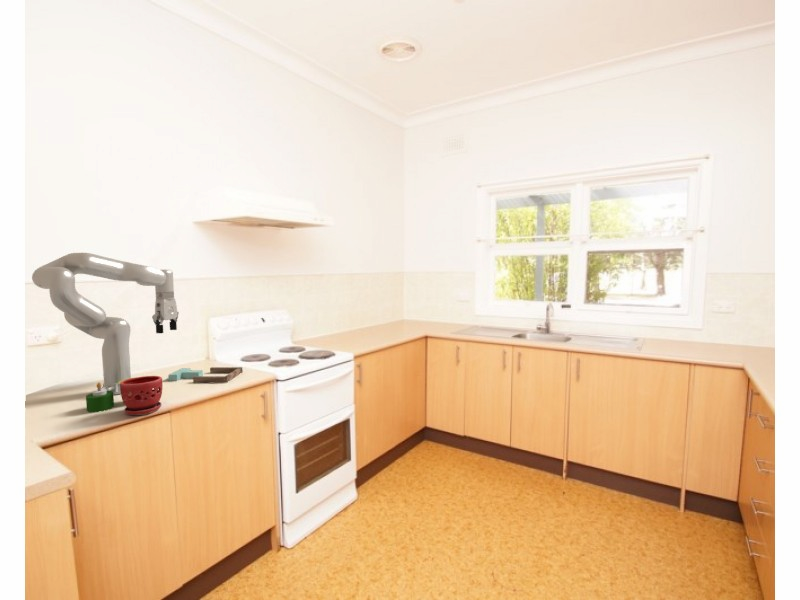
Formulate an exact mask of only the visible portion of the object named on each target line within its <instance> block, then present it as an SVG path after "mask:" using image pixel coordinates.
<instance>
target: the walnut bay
mask: <svg viewBox="0 0 800 600" xmlns="http://www.w3.org/2000/svg"><path fill="white" fill-rule="evenodd" d="M209 370H210V371H209V373H210V374H226V375H225V376H222V375H221V376H216V375H215V376H214V375H213V376H210V375H209V376H206V375H205V376H204V375H203V376H195V377H193V379H192V383H193V382H227V383H229V382H230V381H232V380H233V379H234V378H236V377H237V376H239V375H240V373H241V374H242V373H243V367H242V366H240V367H239V366H238V367H237V366H236V367H235V366H233V367H231V366H230V367H229V366H228V367H227V366H226V367H225V366H224V367H223V366H219V367H215V366H214V367H212V366H211V367H210V368H209ZM228 381H229V382H228Z"/></svg>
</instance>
